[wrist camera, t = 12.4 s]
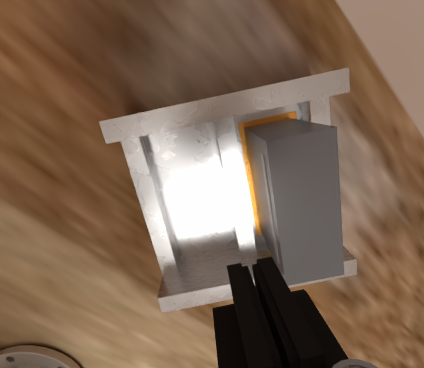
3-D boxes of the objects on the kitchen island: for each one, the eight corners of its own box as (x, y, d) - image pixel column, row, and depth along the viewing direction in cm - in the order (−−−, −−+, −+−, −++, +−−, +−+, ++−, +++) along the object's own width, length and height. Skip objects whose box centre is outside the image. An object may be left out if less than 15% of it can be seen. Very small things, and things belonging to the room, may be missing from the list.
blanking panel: (301, 222, 25) (345, 274, 18) (259, 230, 25) (285, 286, 18) (290, 117, 22) (337, 126, 15) (243, 127, 22) (265, 141, 15)
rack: (324, 240, 27) (357, 277, 22) (170, 271, 28) (163, 315, 22) (311, 76, 22) (348, 67, 17) (124, 116, 23) (98, 121, 17)
